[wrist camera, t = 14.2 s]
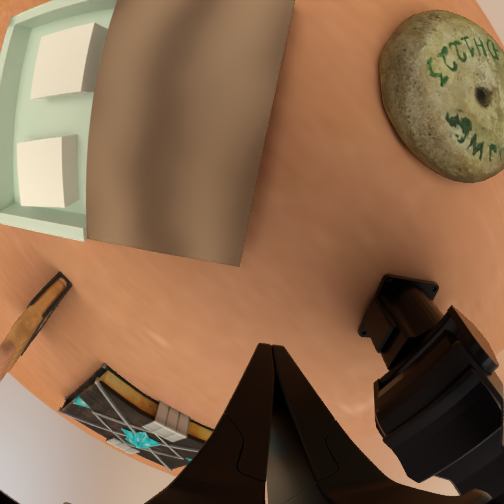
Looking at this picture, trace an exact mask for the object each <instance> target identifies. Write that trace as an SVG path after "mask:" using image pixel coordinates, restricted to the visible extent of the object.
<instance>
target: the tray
mask: <svg viewBox="0 0 504 504" xmlns="http://www.w3.org/2000/svg"><path fill="white" fill-rule="evenodd" d="M116 3H117V0H53V1H50V2H47V3H45V4H42V5H39V6H37V7H34V8H32V9H29V10H27V11H25V12H22V13H20V14H18V15H16V16H13V17H11V20H10V23H9V26H8V29H7V32H6V36H5V39H4V43H3V46H2V50H1V54H0V224H5V225H9V226H13V227H18V228H22V229H27V230H31V231H36V232H41V233H45V234H50V235H55V236H59V237H64V238H69V239H74V240H78V241H83V242H84V241H85V240H86V239H87V225H86V167H87V149H88V136H89V126H90V117H91V110H92V102H93V96H94V93H88V94H78V95H70V96H62V97H55V98H49V99H30V96H31V88H32V81H33V75H34V69H35V64H36V58H37V54H38V49H39V45H40V41H41V37H42V36H45V35H49V34H52V33H55V32H58V31H62V30H65V29H69V28H73V27H77V26H81V25H85V24H89V23H94V22H95V23H97V24H99V25H101V26H103V27H105V28H107V29H108V28H109V24H110V21H111V18H112V15H113V11H114V8H115V5H116ZM74 134H77V171H78V192H79V200H77V201H76V202H74V203H72V204H70V205H69V206H67V207H65V208H59V207H36V206H21V201H20V192H19V181H18V167H17V143H20V142H24V141H29V140H34V139H40V138H48V137H55V136H64V135H74Z"/></svg>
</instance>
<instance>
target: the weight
mask: <svg viewBox="0 0 504 504" xmlns="http://www.w3.org/2000/svg"><path fill="white" fill-rule="evenodd" d="M379 75H380V81H381V91H382V98H383V105H384V108H385V111H386V113H387V115H388V117H389V119H390V121H391V123H392V124H393V126H394V128H395V130H396V132H397V133H398V135H399V136H400V138H401V139H402V140H403V142H404V143H405V145H406V146H407V147H408V148H409V150H410V151H411V152H412V153H413V154H414V155H415V156H416V157H417V158H418V159H419V160H420V161H421V162H422V163H424V164H425V165H426V166H428V167H429V168H430V169H432V170H433V171H435V172H436V173H438V174H440V175H442V176H444V177H446V178H448V179H451V180H453V181H458V182H464V183H474V182H480V181H484V180H486V179H488V178H491V177H493V176H495V175H496V174H498V173H499V172H500V171H502V170H503V169H504V52H503V50H502V49H501V47H500V46H499V45H498V43H497V42H496V41H495V40H494V39H493V38H492V36H490V35H489V34H488V33H487V32H486V31H485V30H484V29H483V28H482V27H480V26H479V25H477V24H476V23H474V22H472V21H470V20H468V19H467V18H465V17H462V16H460V15H457V14H455V13H452V12H449V11H443V10H432V11H428V12H422V13H419V14H416V15H413V16H411V17H409V18H408V19H406V20H405V21H403V22H402V23H401V24H400V25H399V27H398V28H397V29H396V30H395V32H394V33H393V35H392V38H391V39H390V40H389V41H388V42H387V43H386V44H385V46H384V49H383V51H382V54H381V57H380V59H379Z"/></svg>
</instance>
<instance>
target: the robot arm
mask: <svg viewBox="0 0 504 504" xmlns="http://www.w3.org/2000/svg"><path fill="white" fill-rule="evenodd" d="M388 280H389V281H388ZM387 281H388V282H387ZM433 288H434V289H433ZM438 289H439V286H438V285H437V284H436V283H435V282H429V281H424V280H418V279H412V278H407V277H401V276H396V275H390V274H388V275H385V276H384V277H383V279H382V281H381V283H380V286H379V288H378V290H377V292H376V295H375V297H374V298H373V300H372V302H371V304H370V306H369V308H368V310H367V312H366V314H365V316H364V318H363V322H362V324H361V326H360V328H359V329H358V333H359V336H361V337H370V338H371V340H372V342H373V344H374V347H375V349H376V351H377V352H378V353H381V355H382V357H383V360H384V362H385V364H386V366H387V369H388V370H389V371H388V372H387V373H386V374H385V375H384V376H383V377H381V378H380V379H378V380H376V381H375V382H374V403H375V422H376V428H377V429H378V431H379V433H380V434H381V436H382V437H383V441H384V443H385V444H386V445H387V446H388V447H390V448H391V449H392V451H393V452H394V453H395V455H396V456H397V457H398V459H399V461H400V462H401V464H402V466H403V468H404V470H405V472H406V474H407V476H408V477H409V478H411V479H412V480H414V481H416V482H418V483H421V482H423V481H425V480H427V479H428V478H430V477H432V476H436V477H439V478H442V479H446V480H449V481H450V482H451V483H452V484H453V485H454V487H455V489H456V490H457V492H458V493H459V495H460V496H445V495H440V494H435V493H431V492H427V491H423V490H419V489H416V488H412V487H409V486H405V485H401V484H399V483H396V482H394V481H393V480H391V479H389V478H388V477H387V476H385V475H384V474H383V473H382V472H381V471H380V470H379V469H378V468H377V467H376V466H375V465H374V464H373V463H372V462H371V461H370V460H369V459H368V458H367V456H365V455H364V453H363V452H361V450H360V449H359V448H358V447H357V446H356V445H355V444H354V442H353V441H352V440H351V439H350V438H349V436H348V435H347V434H346V433H345V431H344V430H343V429H342V427H341V426H340V425H339V423H338V422H337V421H336V420H335V418H334V417H333V415H332V414H331V413H330V411H329V410H328V408H327V407H326V406H325V404H324V403H323V401H322V400H321V399H320V397H319V396H318V394H317V393H316V392H315V390H314V389H313V387H312V386H311V384H310V383H309V382H308V380H307V379H306V377H305V376H304V375H303V373H302V372H301V370H300V369H299V367H298V366H297V365H296V363H295V362H294V360H293V359H292V357H291V356H290V354H289V353H288V352H287V350H286V349H285V347H284V346H281V345H270V344H266V343H259V344H258V345H257V347H256V349H255V351H254V353H253V355H252V358H251V360H250V362H249V364H248V366H247V368H246V370H245V372H244V374H243V376H242V378H241V380H240V382H239V384H238V386H237V388H236V390H235V391H234V393H233V395H232V397H231V399H230V401H229V403H228V405H227V407H226V409H225V411H224V413H223V414H222V416H221V418H220V420H219V422H218V424H217V425H216V427H215V429H214V430H213V432H212V434H211V435H210V437H209V438H208V439H207V441H206V442H205V443H204V445H203V446H202V447H201V449H200V450H199V451H198V452H197V454H196V455H195V456H194V457H193V458H192V460H191V461H190V462H189V463H188V464H187V466H186V467H185V468H184V469H183V470H182V472H181V473H180V474H179V475H178V476H177V477H176V478H175V479H174V480H173V481H172V482H171V483H170V484H169V485H168V486H167V487H166V488H165V489H163V490H162V491H161V492H159V493H158V494H157V495H155V496H154V497H153V498H151V499H150V500H149V501H147V502H146V503H144V504H265V482H266V478H267V492H268V504H504V425H503V423H504V393H503V384H502V382H501V380H500V379H499V377H498V376H497V374H496V373H495V372H494V371H495V370H496V369H497V368H498V366H499V363H498V362H497V359H496V357H495V355H494V353H493V351H492V349H491V347H490V345H489V343H488V342H487V340H486V339H485V338H484V336H483V335H482V334H481V333H480V331H479V330H478V329H477V328H476V327H475V325H474V324H473V323H472V322H470V321H469V320H468V319H467V318H466V317H465V316H464V315H463V314H461V313H460V312H459V311H458V310H457V309H456V308H455V307H453V306H452V305H451V306H450V308H449V309H448V310H447V311H448V312H447V313H446V314H445V315H443V314H442V313H441V311H440V310H439V309H438V307H437V306H436V305H435V304H434V302H433V299H434V297H435V295H436V293H437V291H438ZM363 331H364V332H363ZM334 420H335V421H334ZM0 504H20V503H18V502H17V501H15V500H14V499H12V498H11V497H10V496H8V495H7V494H5V493H4V492H3V491H1V490H0ZM64 504H70V503H64Z"/></svg>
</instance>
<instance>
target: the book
mask: <svg viewBox="0 0 504 504" xmlns="http://www.w3.org/2000/svg"><path fill="white" fill-rule="evenodd" d="M65 400H66V401H65V403H64V405H63V407H62V408H61V407H60V409H59V412H60V413H62V414H65V415H67V416H69V417H72V418H74V419H75V420H77V421H79V422H80V423H82V424H83V425H85V426H87V427H88V428H90V429H92V430H93V431H95V432H97V433H99V434H100V435H102V436H104V437H105V438H107V439H106V442H108V443H110V444H112V445H114V446H115V447H117V448H119V449H121V450H123V451H125V452H127V453H129V454H135V453H136V454H138V455H140V456H142V457H144V458H146V459H149V460H151V461H153V462H155V463H158V464H160V465H162V466H165V467H166V468H167V469H168V470H169V471H172V469H175V468H178V467H182V466H185V465H187V464H188V463H189V462H190V461H191V460H192V458H193V457H194V456H195V455H196V454H197V452H198V451H199V450H200V449H201V447H202V446H203V445H204V443H205V442H206V441H207V439H208V438H209V437H210V435H211V434H212V432H213V430H214V429H211V428H209V427H207V426H204V425H202V424H200V423H198V422H196V421H193V420H191V419H190V417H189V416H187V415H185V414H183V413H181V412H179V411H177V410H175V409H174V408H172V407H170V406H168V405H167V404H165V403H163V402H161V401H159V402H158V401H156V400H154V399H152V398H151V397H149V396H147V395H146V394H144V393H142V392H141V391H140V390H138V389H137V388H136V387H134V386H133V385H132V384H130V383H129V382H128V381H126V380H125V379H124V378H122V377H121V376H120V375H118V374H117V373H116V372H115V371H113V370H112V369H111V368H109V367H108V366H107V364H106V363H103V365H102V367H101V368H100V369H99V370H98V371H97V372H96V373H94V374H93V375H92V376H91V377H90V378H89V379H88V380H87V381H86V382H85V383H84V384H83V385H81V386H80V387H79V388H78V389H77V390H76V391H75V392H74V393H72V394H71V395H70V396H69V397H65Z"/></svg>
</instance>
